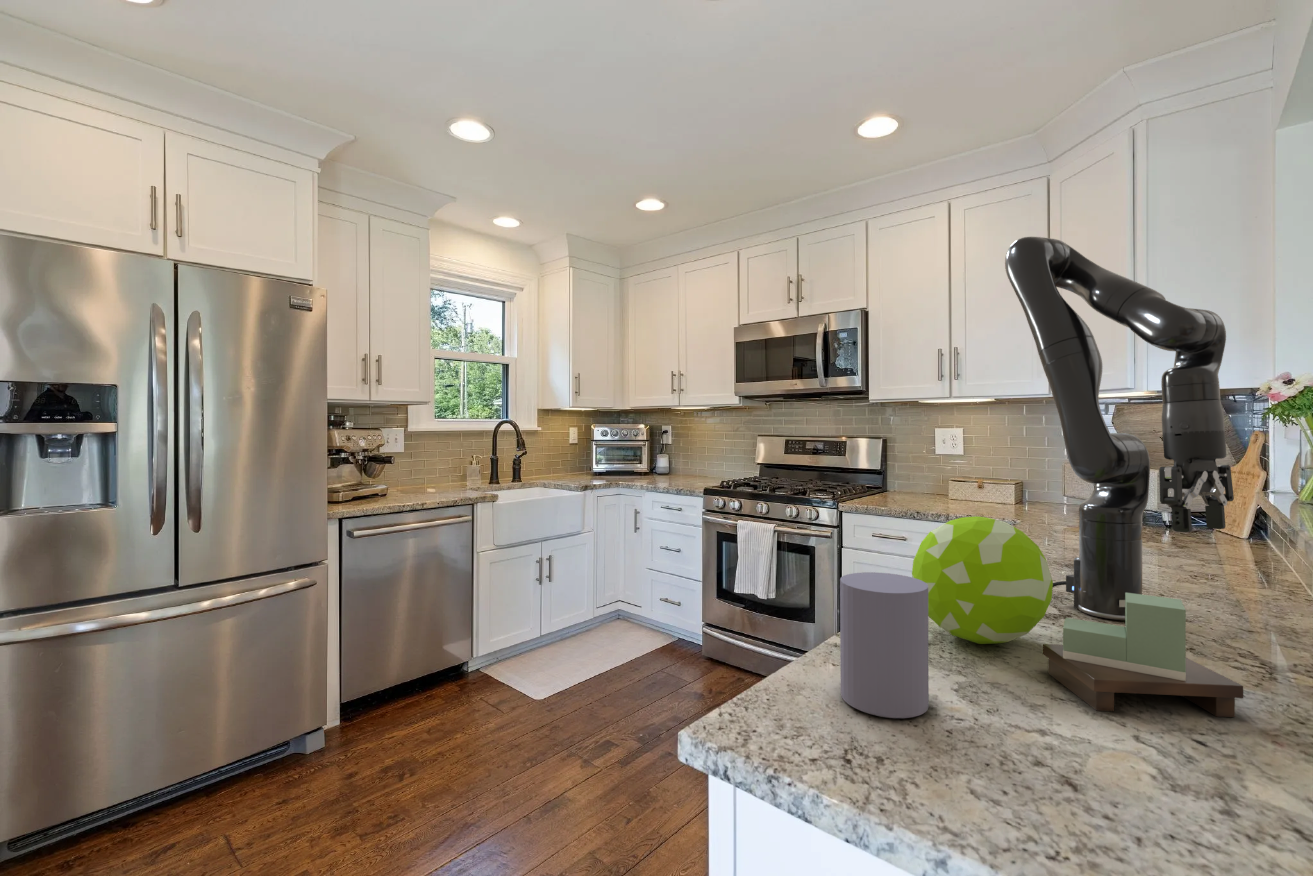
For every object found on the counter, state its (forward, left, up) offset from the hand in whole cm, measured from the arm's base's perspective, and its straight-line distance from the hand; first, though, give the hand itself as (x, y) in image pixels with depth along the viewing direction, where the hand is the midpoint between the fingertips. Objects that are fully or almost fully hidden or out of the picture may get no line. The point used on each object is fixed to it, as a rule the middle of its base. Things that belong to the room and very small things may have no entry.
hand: (1199, 530), depth 95 cm
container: (+1, -63, -18) cm, 65 cm away
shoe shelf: (+10, -31, -18) cm, 37 cm away
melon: (-12, -33, -18) cm, 39 cm away
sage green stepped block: (+9, -33, -14) cm, 37 cm away
